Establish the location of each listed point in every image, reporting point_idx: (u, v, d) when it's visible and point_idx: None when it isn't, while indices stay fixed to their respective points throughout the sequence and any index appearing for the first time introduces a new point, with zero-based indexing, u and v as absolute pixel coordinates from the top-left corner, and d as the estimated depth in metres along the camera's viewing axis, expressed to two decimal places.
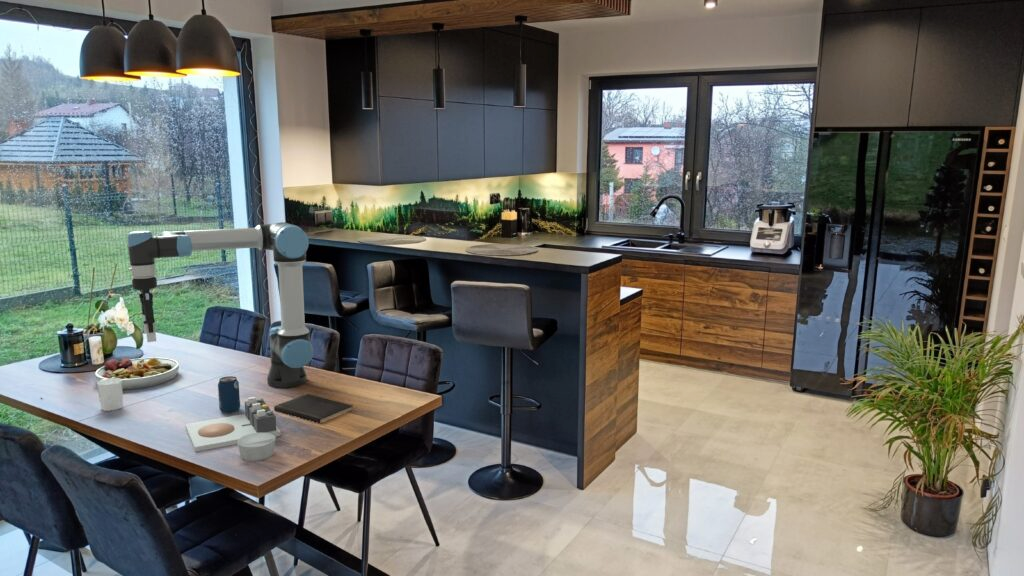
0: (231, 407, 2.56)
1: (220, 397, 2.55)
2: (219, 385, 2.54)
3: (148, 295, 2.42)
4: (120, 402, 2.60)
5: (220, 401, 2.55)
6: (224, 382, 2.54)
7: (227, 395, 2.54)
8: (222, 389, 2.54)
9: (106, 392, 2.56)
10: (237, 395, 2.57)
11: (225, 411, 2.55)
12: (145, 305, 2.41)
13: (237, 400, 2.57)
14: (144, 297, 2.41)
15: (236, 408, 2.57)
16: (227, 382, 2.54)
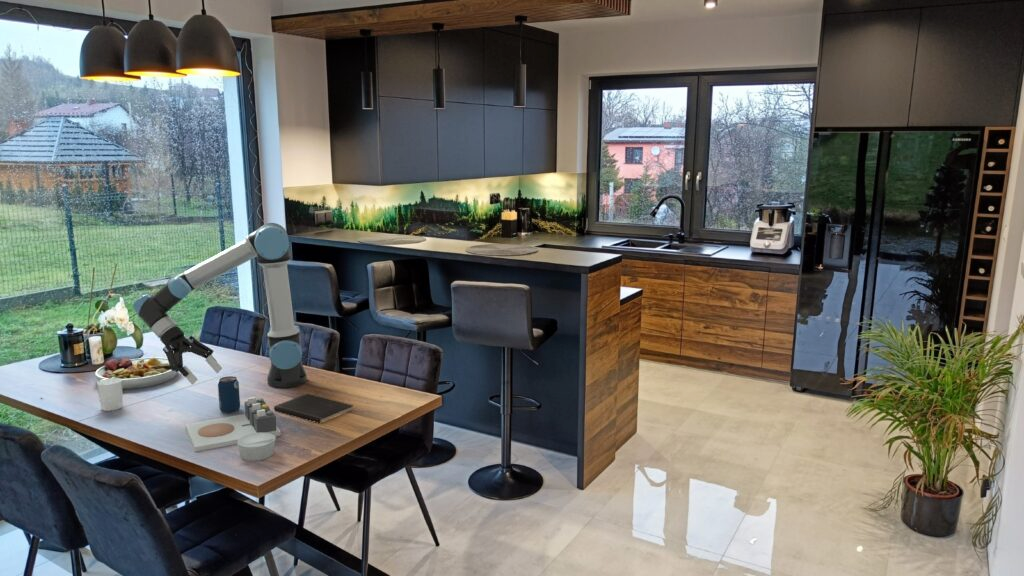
0: (231, 407, 2.56)
1: (220, 397, 2.55)
2: (219, 385, 2.54)
3: (165, 347, 2.52)
4: (120, 402, 2.60)
5: (220, 401, 2.55)
6: (224, 382, 2.54)
7: (227, 395, 2.54)
8: (222, 389, 2.54)
9: (106, 392, 2.56)
10: (237, 395, 2.57)
11: (225, 411, 2.55)
12: (167, 356, 2.51)
13: (237, 400, 2.57)
14: (164, 350, 2.52)
15: (236, 408, 2.57)
16: (227, 382, 2.54)
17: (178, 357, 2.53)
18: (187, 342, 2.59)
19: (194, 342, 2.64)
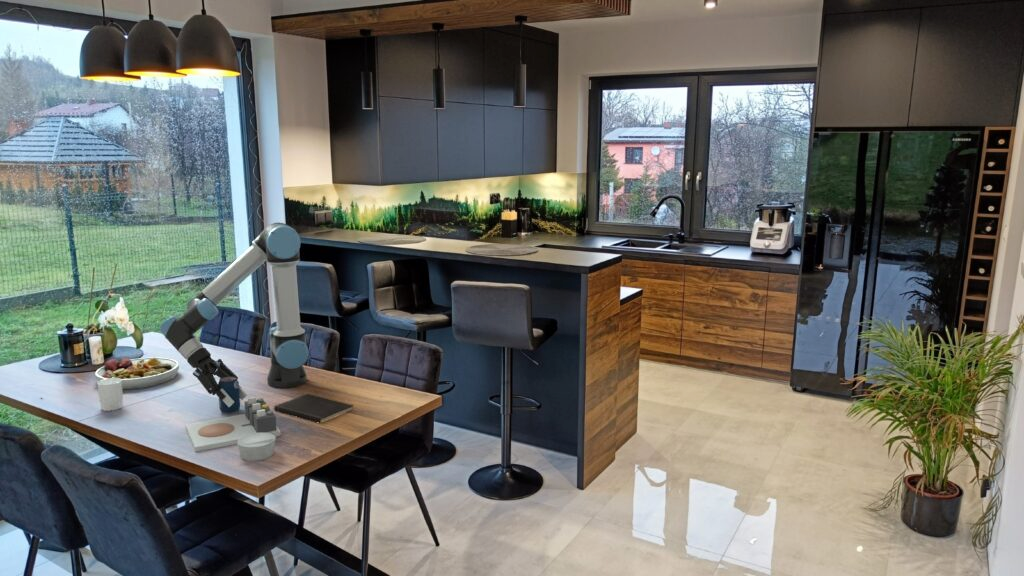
0: (231, 407, 2.56)
1: None
2: (219, 385, 2.54)
3: (196, 372, 2.51)
4: (120, 402, 2.60)
5: (220, 401, 2.55)
6: (224, 382, 2.54)
7: None
8: None
9: (106, 392, 2.56)
10: (237, 395, 2.57)
11: (225, 411, 2.55)
12: (200, 381, 2.52)
13: (237, 400, 2.57)
14: (195, 375, 2.52)
15: (236, 408, 2.57)
16: (227, 382, 2.54)
17: (211, 380, 2.54)
18: (213, 364, 2.58)
19: (221, 365, 2.63)
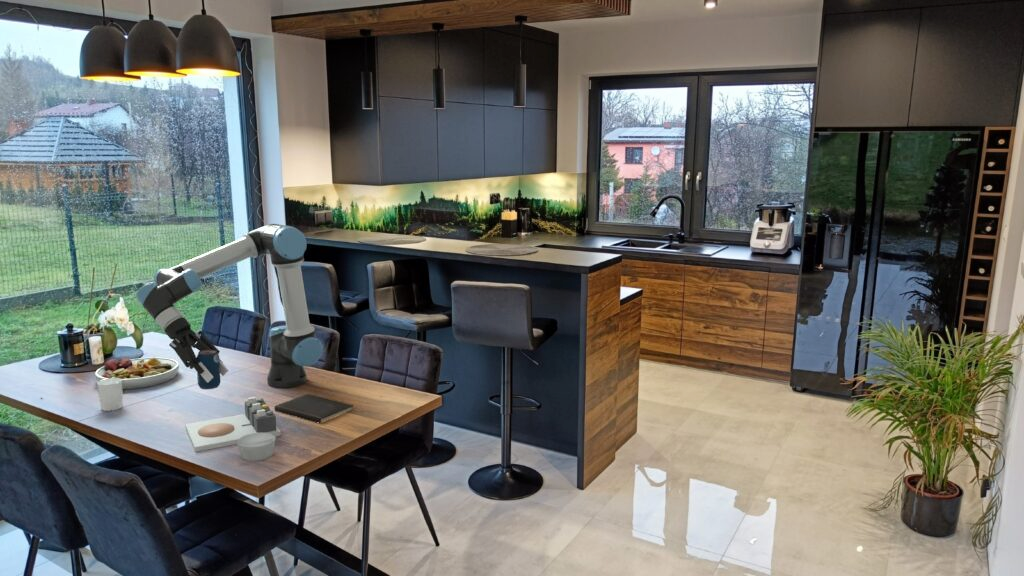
0: (210, 382, 2.36)
1: None
2: (197, 358, 2.35)
3: (172, 343, 2.32)
4: (120, 402, 2.60)
5: (198, 376, 2.36)
6: (203, 355, 2.34)
7: None
8: None
9: (106, 392, 2.56)
10: (217, 370, 2.37)
11: (203, 387, 2.36)
12: (177, 353, 2.32)
13: (217, 375, 2.37)
14: (172, 346, 2.32)
15: (215, 384, 2.37)
16: (206, 355, 2.34)
17: (189, 352, 2.34)
18: (193, 335, 2.39)
19: (201, 338, 2.43)
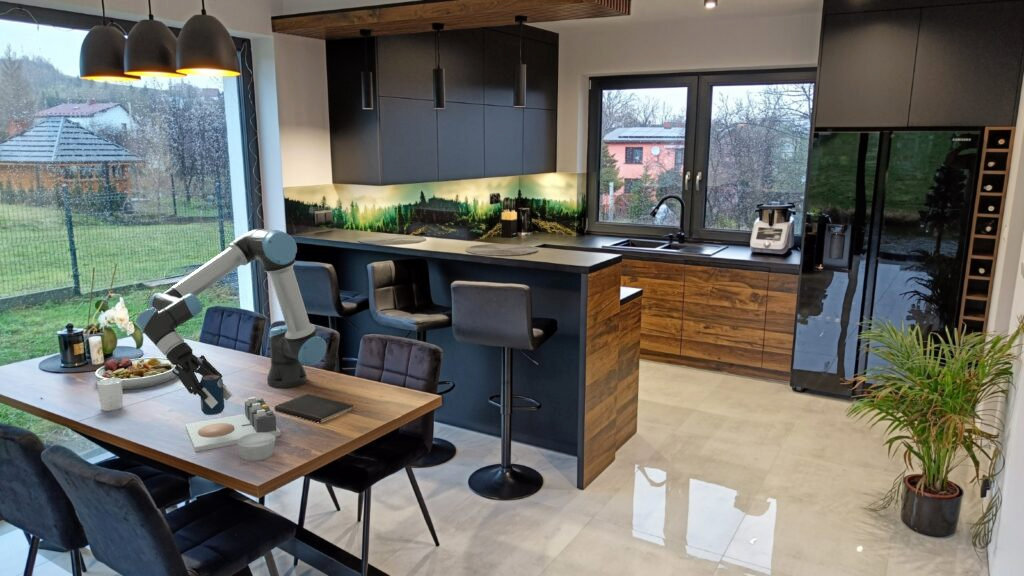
0: (214, 408, 2.32)
1: None
2: (201, 384, 2.31)
3: (175, 369, 2.28)
4: (120, 402, 2.60)
5: (202, 401, 2.32)
6: (206, 380, 2.30)
7: None
8: None
9: (106, 392, 2.56)
10: (221, 395, 2.33)
11: (207, 412, 2.32)
12: None
13: (221, 400, 2.34)
14: (174, 373, 2.28)
15: (220, 409, 2.33)
16: (210, 380, 2.30)
17: (193, 378, 2.30)
18: (195, 360, 2.35)
19: (204, 362, 2.39)
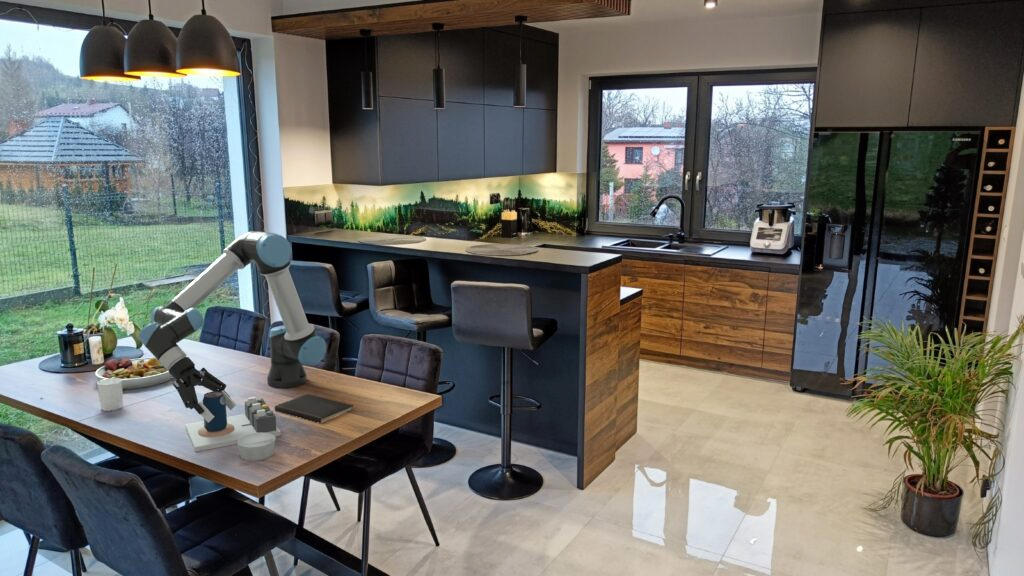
0: (217, 425, 2.34)
1: None
2: (204, 401, 2.33)
3: (176, 382, 2.29)
4: (120, 402, 2.60)
5: None
6: (209, 398, 2.32)
7: (212, 412, 2.32)
8: (207, 406, 2.32)
9: (106, 392, 2.56)
10: (224, 412, 2.35)
11: (210, 429, 2.34)
12: (179, 392, 2.29)
13: (224, 417, 2.35)
14: (175, 386, 2.29)
15: (222, 426, 2.35)
16: (212, 398, 2.32)
17: (191, 392, 2.30)
18: (198, 374, 2.36)
19: (206, 375, 2.41)
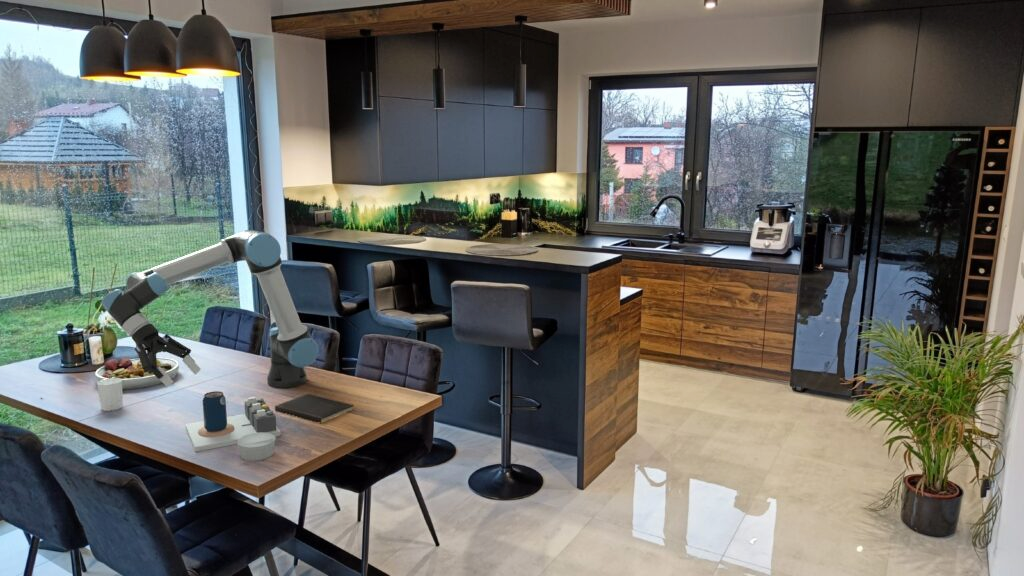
0: (217, 425, 2.34)
1: (205, 414, 2.33)
2: (204, 401, 2.33)
3: (137, 346, 2.30)
4: (120, 402, 2.60)
5: (205, 419, 2.33)
6: (209, 398, 2.32)
7: (212, 412, 2.32)
8: (207, 406, 2.32)
9: (106, 392, 2.56)
10: (224, 412, 2.35)
11: (210, 430, 2.34)
12: (139, 357, 2.30)
13: (224, 417, 2.35)
14: (136, 350, 2.31)
15: (222, 426, 2.35)
16: (212, 398, 2.32)
17: (151, 357, 2.31)
18: (162, 341, 2.38)
19: (170, 341, 2.43)
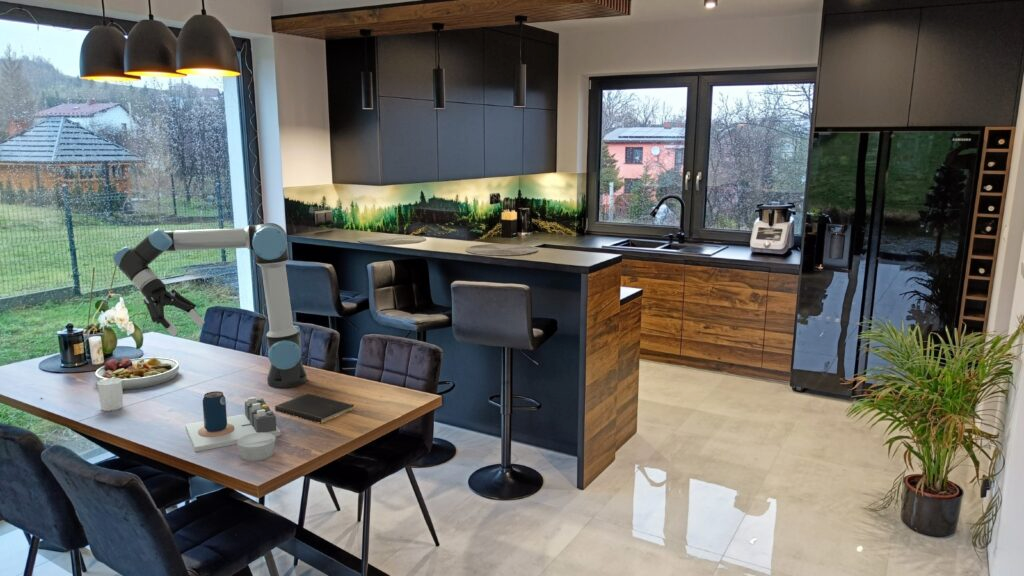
0: (217, 425, 2.34)
1: (205, 414, 2.33)
2: (204, 401, 2.32)
3: (146, 299, 2.48)
4: (120, 402, 2.60)
5: (205, 419, 2.33)
6: (209, 398, 2.32)
7: (212, 412, 2.32)
8: (207, 406, 2.32)
9: (106, 392, 2.56)
10: (224, 412, 2.35)
11: (210, 430, 2.34)
12: (148, 308, 2.48)
13: (224, 417, 2.35)
14: (145, 302, 2.48)
15: (222, 426, 2.35)
16: (212, 398, 2.32)
17: (159, 309, 2.49)
18: (169, 295, 2.55)
19: (176, 296, 2.60)
